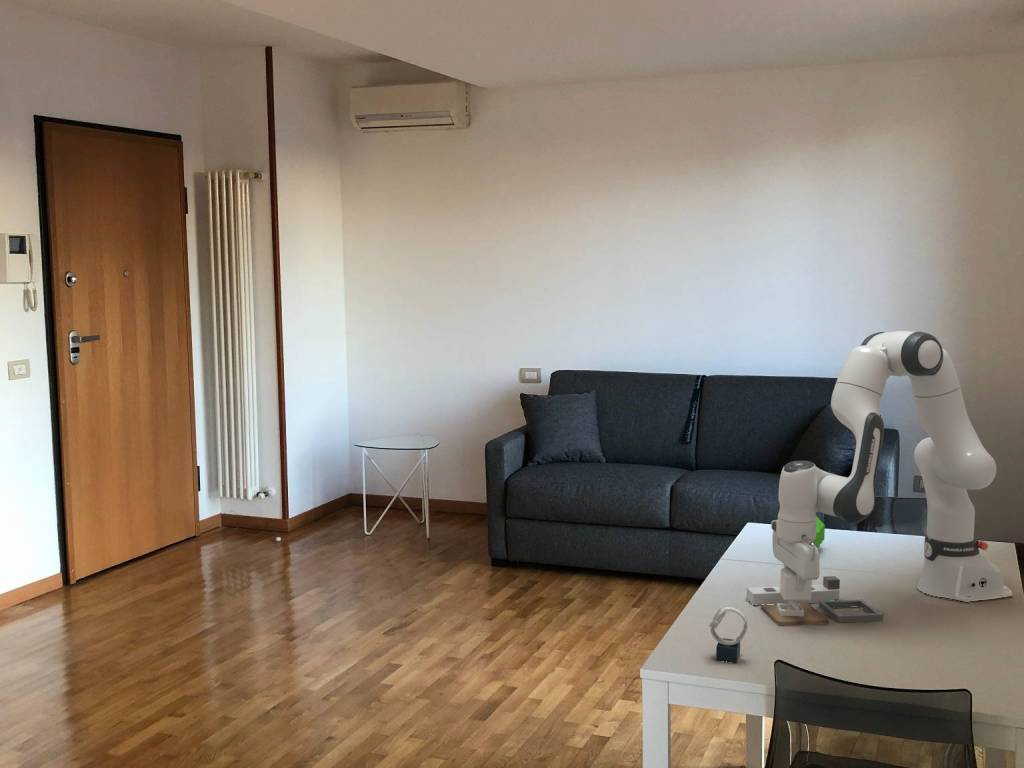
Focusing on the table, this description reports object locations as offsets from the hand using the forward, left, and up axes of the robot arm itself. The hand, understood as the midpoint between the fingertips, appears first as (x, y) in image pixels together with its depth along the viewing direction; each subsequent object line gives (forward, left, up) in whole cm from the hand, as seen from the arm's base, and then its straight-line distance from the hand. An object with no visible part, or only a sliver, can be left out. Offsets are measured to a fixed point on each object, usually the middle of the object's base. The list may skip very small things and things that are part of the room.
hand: (794, 587), depth 252 cm
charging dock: (-14, 0, -7) cm, 16 cm away
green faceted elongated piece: (-22, -50, -8) cm, 55 cm away
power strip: (-4, -9, -7) cm, 13 cm away
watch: (+24, +23, -8) cm, 34 cm away
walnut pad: (0, 0, -7) cm, 7 cm away
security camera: (0, 0, -6) cm, 6 cm away
